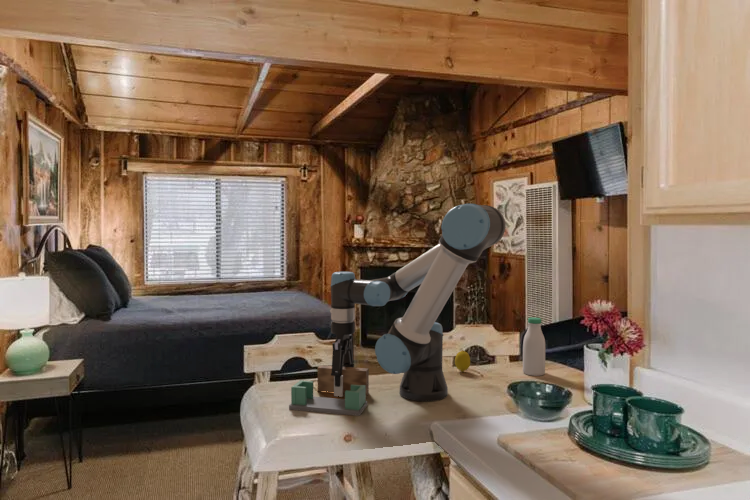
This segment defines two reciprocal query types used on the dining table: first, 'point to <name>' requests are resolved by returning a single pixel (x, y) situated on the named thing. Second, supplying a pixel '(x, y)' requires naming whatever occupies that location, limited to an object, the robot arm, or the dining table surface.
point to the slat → (349, 378)
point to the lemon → (462, 361)
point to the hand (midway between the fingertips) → (342, 391)
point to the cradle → (328, 400)
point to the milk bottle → (534, 349)
